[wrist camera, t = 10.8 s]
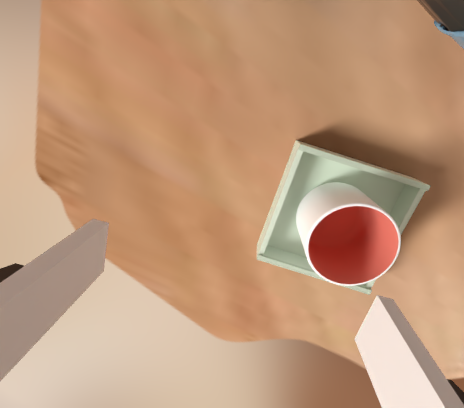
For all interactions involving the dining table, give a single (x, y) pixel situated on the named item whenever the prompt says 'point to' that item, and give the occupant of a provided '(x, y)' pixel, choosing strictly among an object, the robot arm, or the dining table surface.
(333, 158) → the pale green square tray
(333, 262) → the cup
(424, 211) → the dining table surface
